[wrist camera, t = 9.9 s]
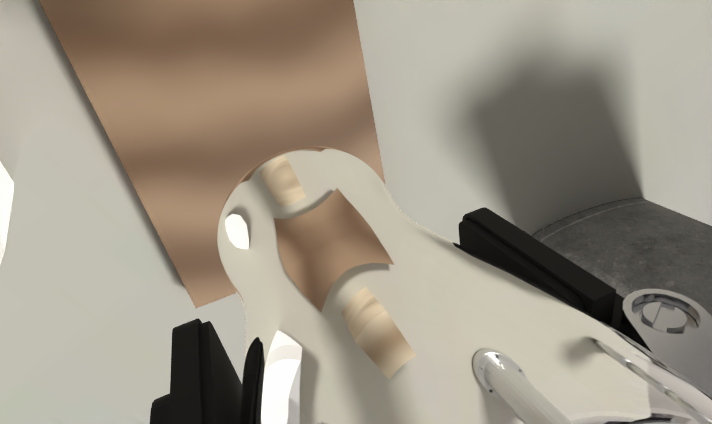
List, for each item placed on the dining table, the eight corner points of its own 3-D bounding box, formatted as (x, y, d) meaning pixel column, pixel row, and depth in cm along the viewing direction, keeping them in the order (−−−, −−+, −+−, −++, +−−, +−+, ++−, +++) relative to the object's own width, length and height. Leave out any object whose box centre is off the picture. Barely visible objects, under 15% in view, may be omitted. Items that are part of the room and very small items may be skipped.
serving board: (45, -5, 19) (35, -7, 17) (332, -62, 22) (341, -67, 21) (195, 294, 28) (195, 308, 26) (385, 223, 31) (393, 232, 29)
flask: (528, 226, 36) (776, 379, 21) (649, 187, 40) (934, 293, 25) (525, 260, 38) (752, 425, 23) (641, 220, 42) (903, 337, 27)
